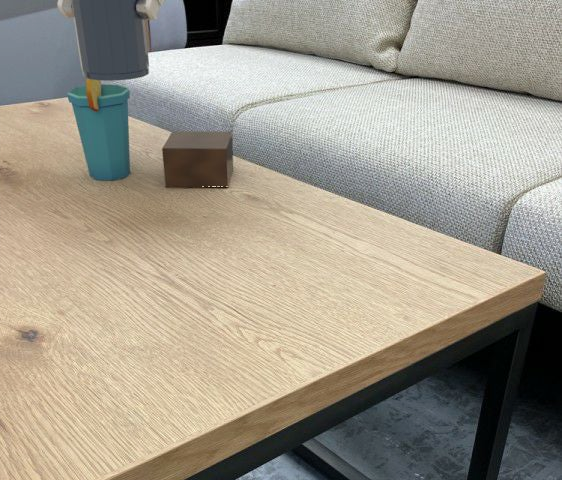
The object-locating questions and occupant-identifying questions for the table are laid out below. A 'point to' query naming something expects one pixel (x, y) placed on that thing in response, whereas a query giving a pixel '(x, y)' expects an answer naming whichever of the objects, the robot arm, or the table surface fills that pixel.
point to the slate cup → (110, 39)
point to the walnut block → (198, 159)
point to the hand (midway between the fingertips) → (105, 14)
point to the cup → (103, 128)
